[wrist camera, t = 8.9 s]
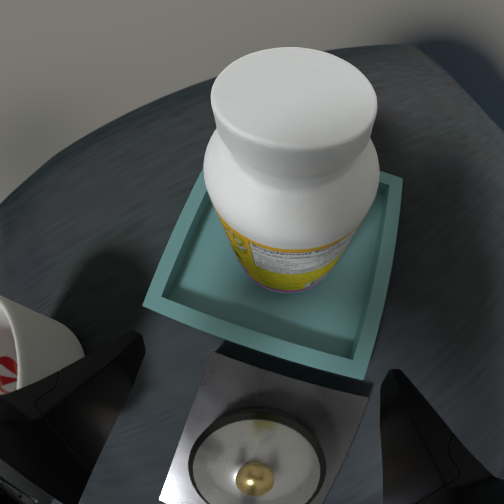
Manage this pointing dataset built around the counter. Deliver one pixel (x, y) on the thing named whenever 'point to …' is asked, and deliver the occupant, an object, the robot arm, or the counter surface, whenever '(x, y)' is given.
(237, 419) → the block
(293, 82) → the supplement bottle
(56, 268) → the counter surface
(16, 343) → the cup
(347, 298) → the tray
